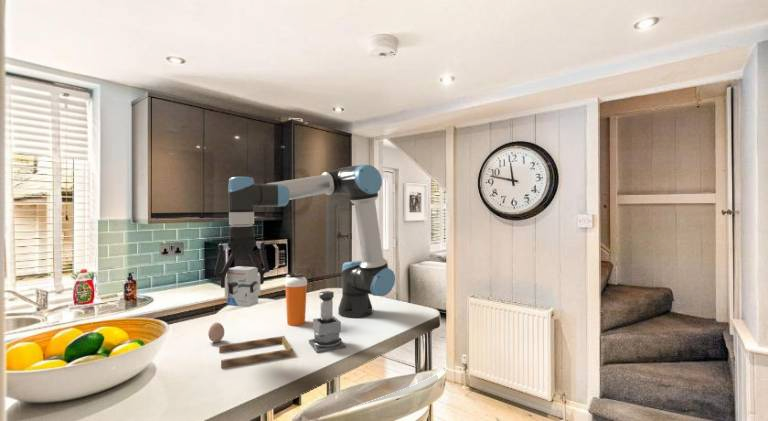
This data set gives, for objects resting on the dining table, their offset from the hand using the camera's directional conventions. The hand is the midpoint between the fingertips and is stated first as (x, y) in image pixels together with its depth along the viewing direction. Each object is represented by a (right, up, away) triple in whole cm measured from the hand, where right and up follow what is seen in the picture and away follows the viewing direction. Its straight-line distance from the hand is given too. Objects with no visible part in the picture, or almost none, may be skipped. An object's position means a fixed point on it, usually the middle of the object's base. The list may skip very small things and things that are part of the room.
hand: (242, 296), depth 121 cm
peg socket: (+25, -19, +9) cm, 33 cm away
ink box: (0, -3, 0) cm, 3 cm away
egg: (-14, -19, +12) cm, 27 cm away
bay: (+3, -19, +2) cm, 19 cm away
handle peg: (+25, -14, +9) cm, 30 cm away
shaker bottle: (+9, -19, +34) cm, 40 cm away
